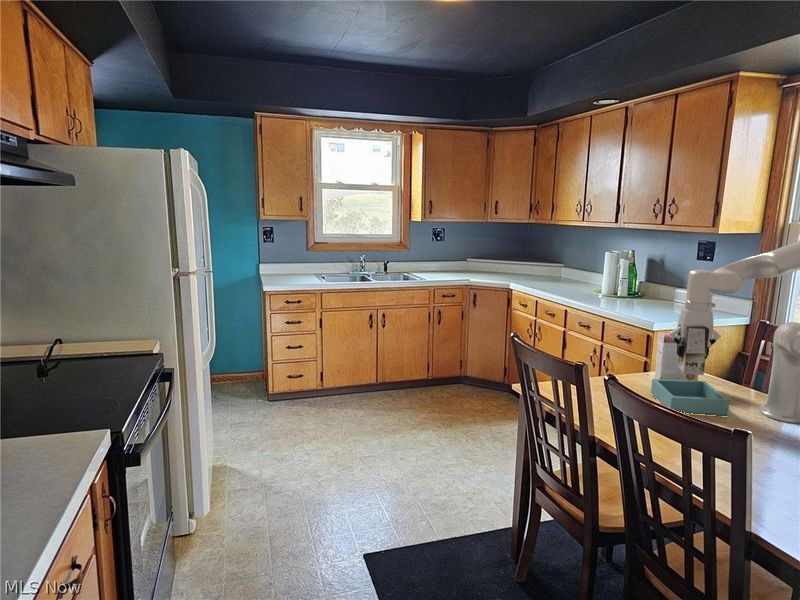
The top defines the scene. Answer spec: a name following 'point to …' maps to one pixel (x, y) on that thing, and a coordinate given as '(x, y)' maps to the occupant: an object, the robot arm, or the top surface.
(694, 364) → the coffee box
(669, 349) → the cracker box
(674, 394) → the tote
